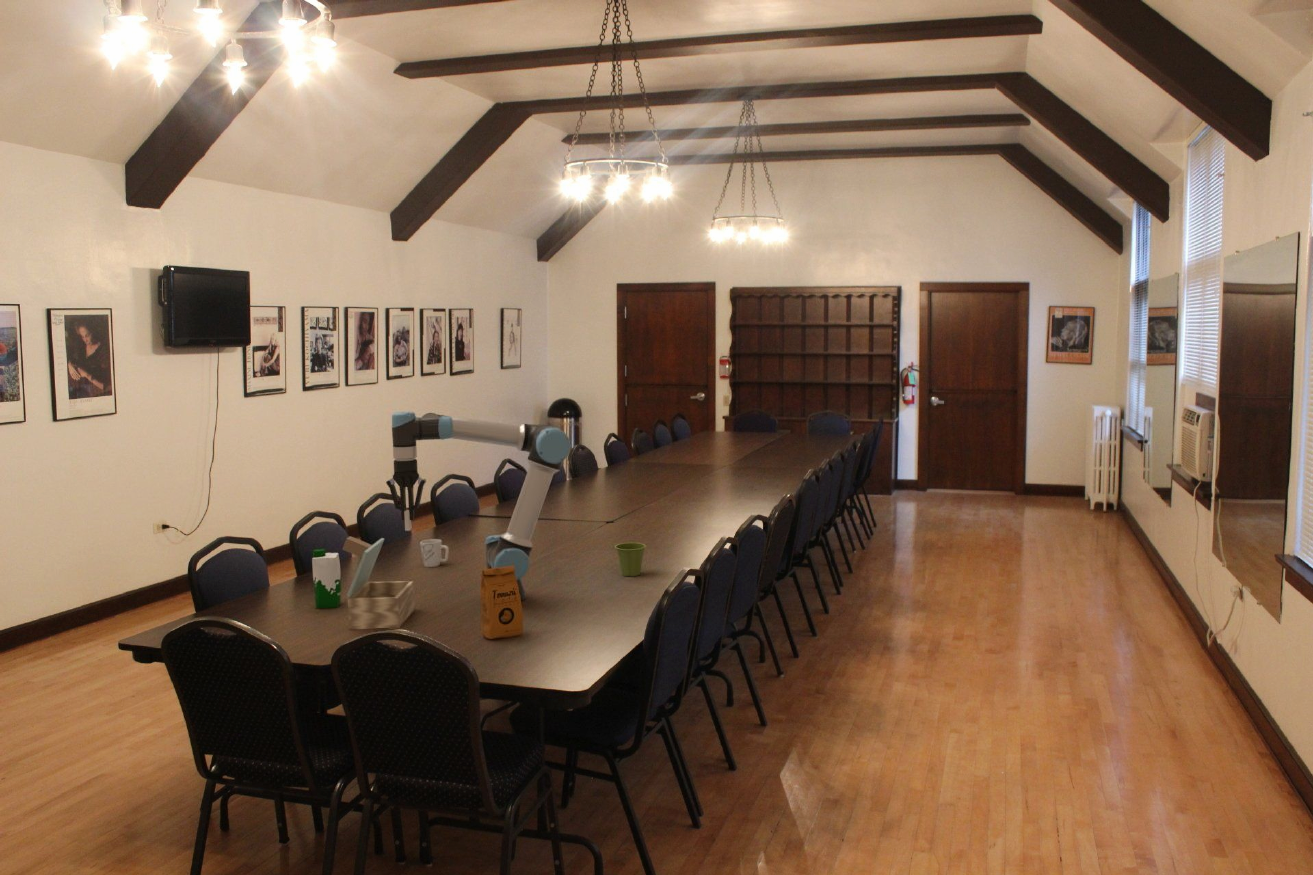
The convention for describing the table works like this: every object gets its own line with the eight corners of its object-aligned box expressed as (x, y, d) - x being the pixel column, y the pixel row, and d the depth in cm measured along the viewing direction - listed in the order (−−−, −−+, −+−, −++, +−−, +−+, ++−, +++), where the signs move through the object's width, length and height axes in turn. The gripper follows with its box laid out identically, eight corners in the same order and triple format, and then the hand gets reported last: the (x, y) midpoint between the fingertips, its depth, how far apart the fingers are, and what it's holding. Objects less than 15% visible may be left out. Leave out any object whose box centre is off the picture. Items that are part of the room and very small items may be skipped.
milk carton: (317, 603, 370) (313, 547, 368) (343, 601, 372) (340, 546, 370) (313, 609, 362) (309, 553, 360) (340, 608, 363) (337, 551, 361)
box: (414, 609, 360) (413, 581, 358) (398, 628, 338) (397, 598, 337) (368, 610, 360) (366, 581, 359) (349, 629, 338) (347, 599, 337)
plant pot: (610, 576, 400) (609, 547, 399) (625, 569, 411) (624, 541, 409) (637, 579, 395) (636, 550, 393) (651, 572, 405) (651, 543, 404)
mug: (452, 562, 428) (451, 538, 427) (446, 567, 419) (445, 543, 418) (425, 562, 429) (424, 538, 428) (418, 567, 421) (417, 543, 419)
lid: (384, 538, 356) (358, 528, 356) (367, 552, 335) (339, 541, 335) (367, 581, 358) (341, 570, 358) (349, 597, 337) (321, 586, 337)
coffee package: (526, 637, 326) (523, 568, 323) (486, 642, 321) (484, 572, 318) (517, 628, 335) (515, 561, 332) (479, 634, 330) (476, 565, 327)
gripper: (427, 457, 346) (430, 527, 349) (388, 457, 346) (391, 527, 349) (422, 460, 339) (425, 531, 341) (382, 460, 339) (385, 532, 341)
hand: (408, 529), depth 345 cm, fingers closed
